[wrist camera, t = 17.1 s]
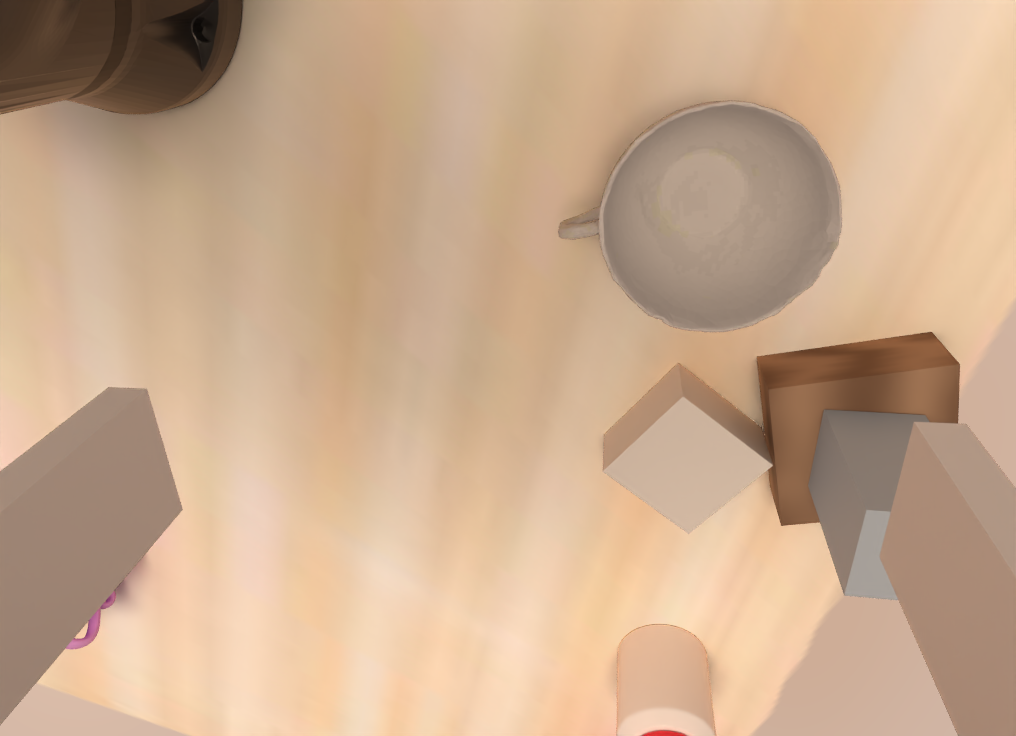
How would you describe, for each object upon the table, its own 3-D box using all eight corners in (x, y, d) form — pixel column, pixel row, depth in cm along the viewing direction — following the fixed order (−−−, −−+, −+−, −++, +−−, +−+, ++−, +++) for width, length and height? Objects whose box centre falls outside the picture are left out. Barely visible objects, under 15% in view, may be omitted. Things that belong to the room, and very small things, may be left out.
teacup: (814, 69, 42) (852, 87, 35) (806, 275, 48) (837, 326, 41) (554, 103, 45) (540, 125, 38) (574, 293, 50) (565, 343, 43)
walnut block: (769, 482, 56) (781, 525, 51) (756, 354, 51) (768, 389, 47) (928, 466, 53) (955, 509, 49) (929, 329, 48) (959, 364, 44)
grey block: (683, 491, 57) (688, 534, 52) (604, 432, 55) (602, 471, 51) (760, 425, 53) (773, 465, 49) (678, 361, 52) (683, 396, 48)
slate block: (807, 485, 49) (844, 595, 41) (823, 409, 47) (866, 509, 38) (903, 492, 49) (960, 605, 40) (925, 415, 46) (992, 519, 37)
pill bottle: (610, 676, 67) (607, 792, 57) (627, 615, 63) (627, 729, 54) (694, 693, 67) (706, 814, 57) (716, 634, 63) (733, 751, 53)
